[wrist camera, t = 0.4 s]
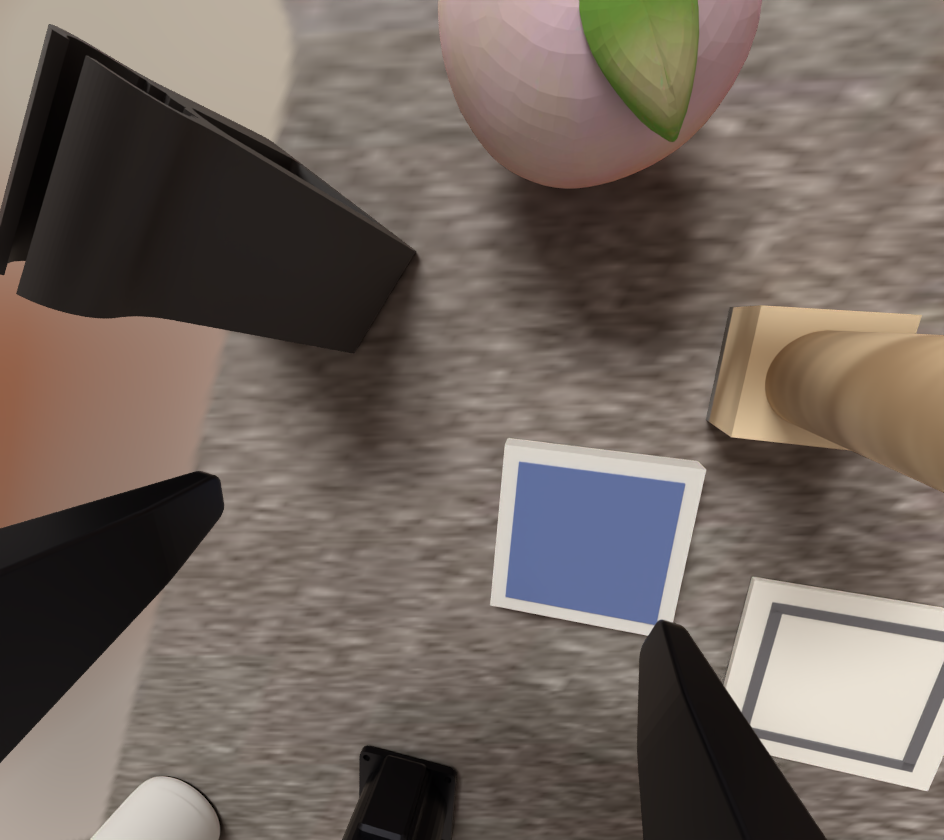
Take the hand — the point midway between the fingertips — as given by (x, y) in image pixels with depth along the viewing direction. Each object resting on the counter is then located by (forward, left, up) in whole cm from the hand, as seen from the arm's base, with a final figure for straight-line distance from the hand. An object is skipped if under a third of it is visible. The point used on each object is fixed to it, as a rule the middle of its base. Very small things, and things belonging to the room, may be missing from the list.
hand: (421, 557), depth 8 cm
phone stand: (+7, +10, -14) cm, 19 cm away
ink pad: (-6, -5, -14) cm, 16 cm away
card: (-12, -18, -14) cm, 25 cm away
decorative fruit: (+13, -2, -14) cm, 19 cm away
